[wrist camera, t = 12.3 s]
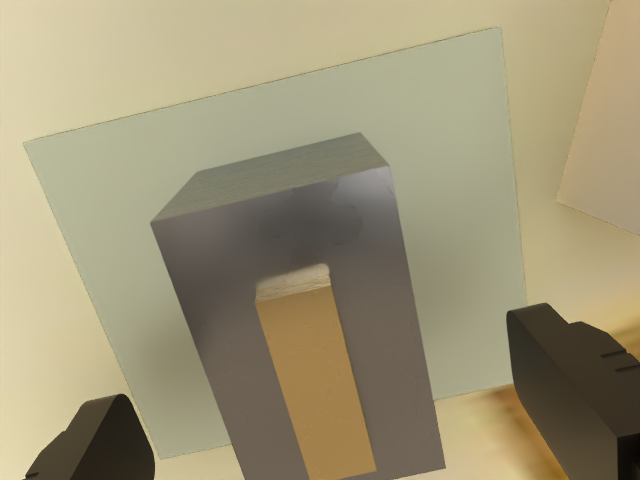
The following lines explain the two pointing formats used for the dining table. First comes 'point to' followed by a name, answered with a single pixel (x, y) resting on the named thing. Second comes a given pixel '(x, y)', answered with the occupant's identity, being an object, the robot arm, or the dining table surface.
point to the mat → (282, 134)
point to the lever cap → (305, 313)
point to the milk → (609, 127)
